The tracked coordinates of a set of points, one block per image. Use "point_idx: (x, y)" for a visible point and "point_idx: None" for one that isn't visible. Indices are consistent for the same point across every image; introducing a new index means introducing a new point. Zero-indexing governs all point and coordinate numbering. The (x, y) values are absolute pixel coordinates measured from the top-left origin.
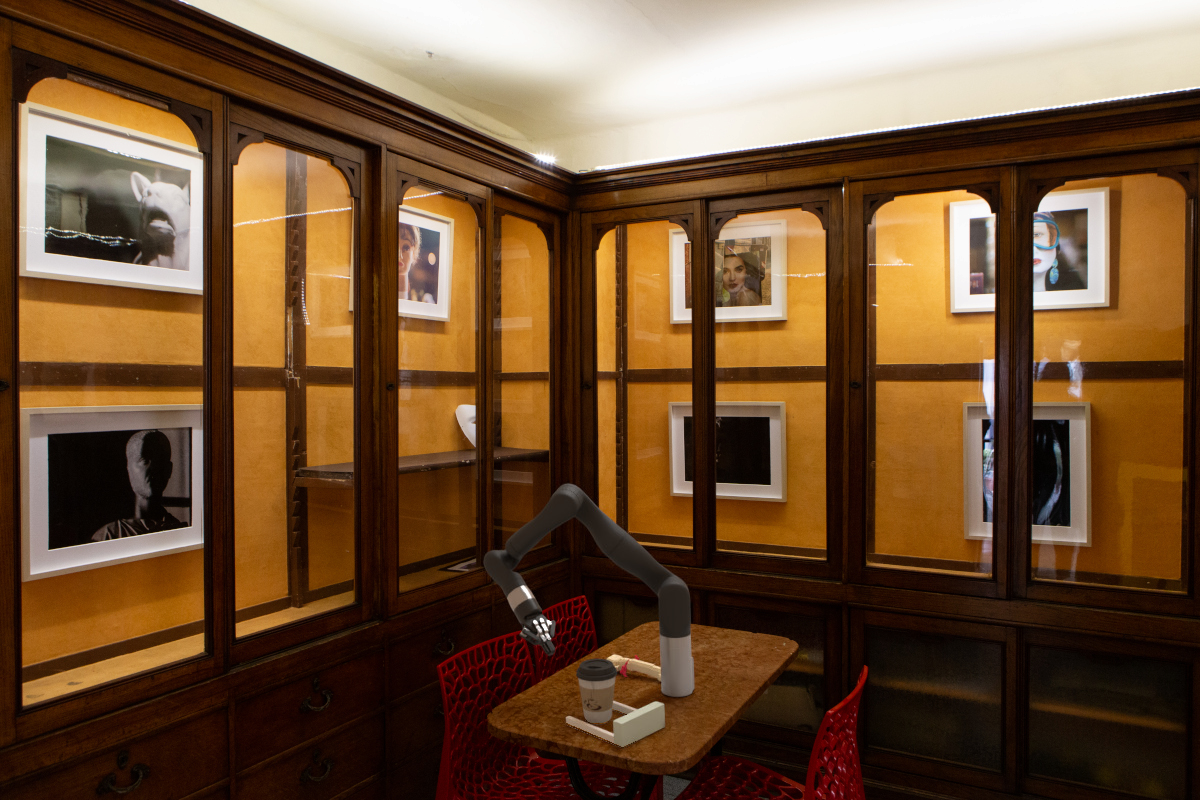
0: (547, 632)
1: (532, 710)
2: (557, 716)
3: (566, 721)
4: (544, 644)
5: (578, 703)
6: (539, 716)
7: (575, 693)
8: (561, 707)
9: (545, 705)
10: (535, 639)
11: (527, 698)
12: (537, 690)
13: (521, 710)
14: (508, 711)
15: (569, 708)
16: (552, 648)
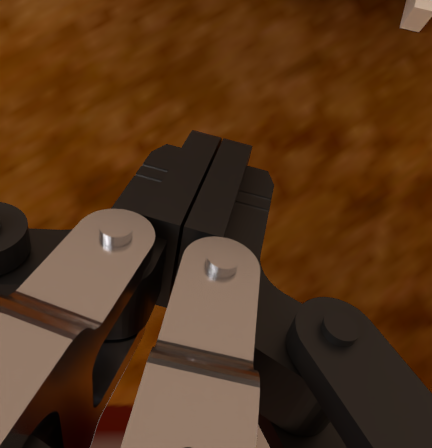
0: (22, 302)
1: (362, 259)
2: (363, 113)
3: (427, 20)
4: (259, 242)
5: (193, 105)
6: (403, 188)
7: (92, 182)
8: (268, 152)
9: (282, 235)
10: (403, 374)
11: None
12: (135, 386)
13: (387, 310)
14: (429, 364)
15: (262, 112)
16: (209, 148)
